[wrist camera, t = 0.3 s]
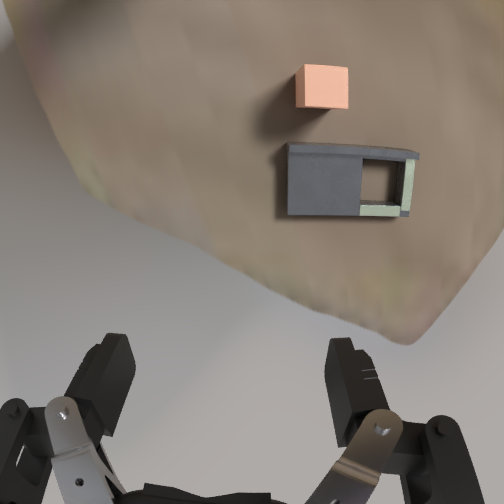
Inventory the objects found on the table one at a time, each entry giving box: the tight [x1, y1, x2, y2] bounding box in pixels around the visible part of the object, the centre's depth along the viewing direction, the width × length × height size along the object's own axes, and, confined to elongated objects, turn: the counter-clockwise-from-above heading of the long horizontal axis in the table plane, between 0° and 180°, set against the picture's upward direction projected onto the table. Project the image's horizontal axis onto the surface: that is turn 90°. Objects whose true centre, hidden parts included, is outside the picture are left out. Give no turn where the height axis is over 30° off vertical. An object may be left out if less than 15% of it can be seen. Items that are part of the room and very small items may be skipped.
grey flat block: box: [286, 142, 420, 217], centre depth 34 cm, size 8×15×3 cm, turn 91°
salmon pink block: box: [295, 64, 348, 109], centre depth 29 cm, size 4×4×7 cm
